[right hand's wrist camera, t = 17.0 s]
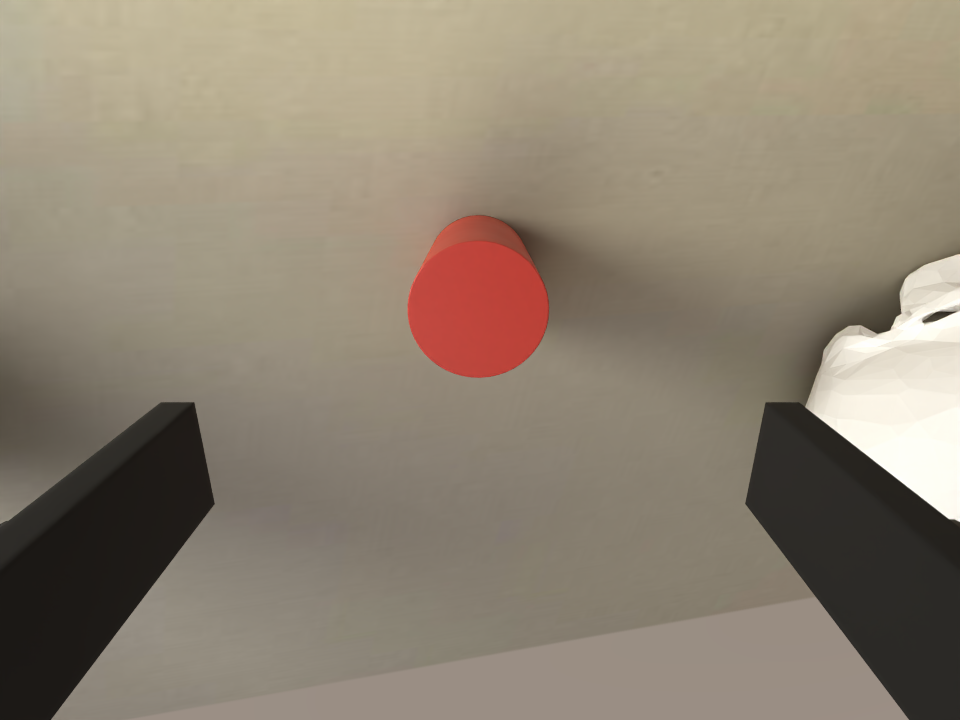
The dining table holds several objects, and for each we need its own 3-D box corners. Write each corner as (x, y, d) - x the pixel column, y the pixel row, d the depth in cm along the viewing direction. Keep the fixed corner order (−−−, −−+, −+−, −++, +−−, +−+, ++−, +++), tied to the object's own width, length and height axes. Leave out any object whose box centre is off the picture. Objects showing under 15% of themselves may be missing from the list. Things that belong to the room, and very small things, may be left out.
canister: (542, 290, 37) (569, 346, 26) (454, 328, 38) (444, 398, 27) (504, 198, 35) (516, 216, 24) (411, 240, 36) (382, 276, 25)
